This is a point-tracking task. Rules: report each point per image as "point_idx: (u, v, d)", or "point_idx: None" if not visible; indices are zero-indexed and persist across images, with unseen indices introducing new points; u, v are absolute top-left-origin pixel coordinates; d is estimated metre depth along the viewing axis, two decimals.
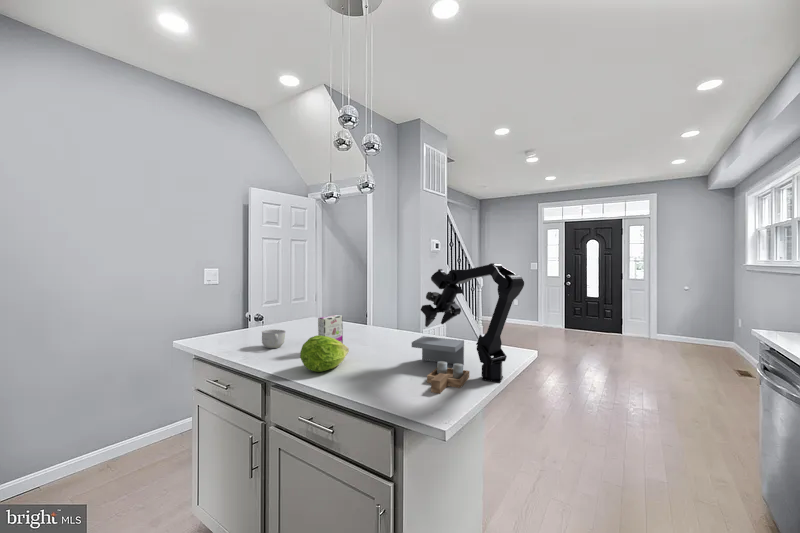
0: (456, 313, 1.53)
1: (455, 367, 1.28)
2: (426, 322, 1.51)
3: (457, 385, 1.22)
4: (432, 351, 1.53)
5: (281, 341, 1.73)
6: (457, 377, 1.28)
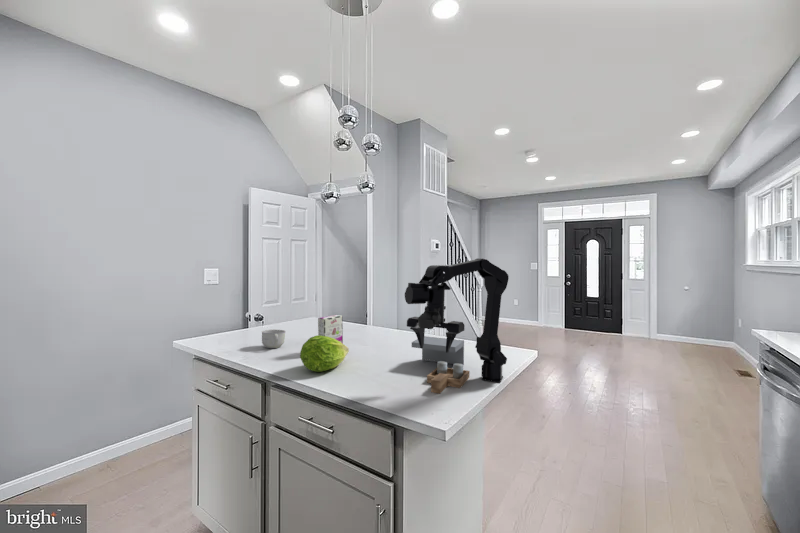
0: None
1: (455, 367, 1.28)
2: (449, 346, 1.17)
3: (457, 385, 1.22)
4: (432, 351, 1.53)
5: (281, 341, 1.73)
6: (457, 377, 1.28)
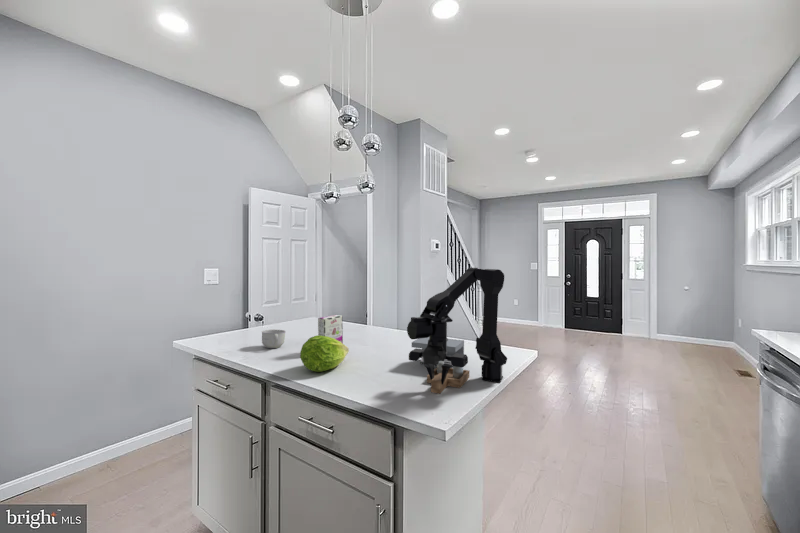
0: None
1: (455, 367, 1.28)
2: (445, 377, 1.17)
3: (456, 385, 1.22)
4: None
5: (281, 341, 1.73)
6: (457, 377, 1.28)
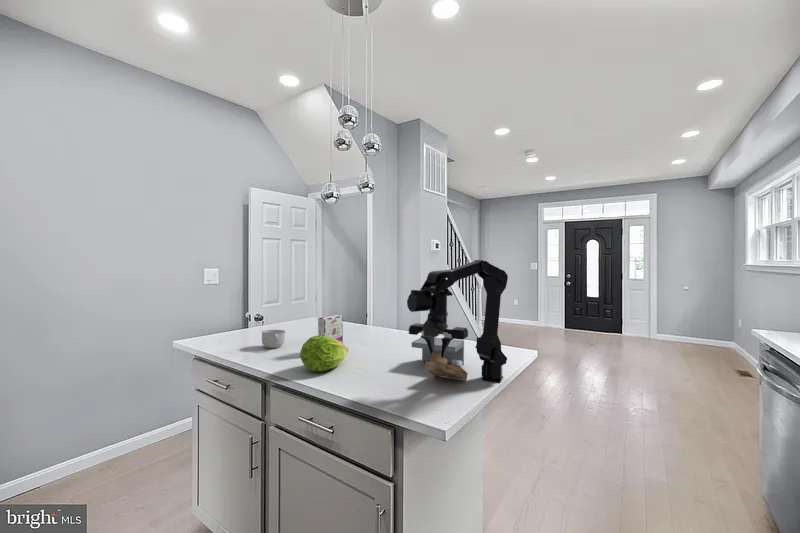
0: None
1: (454, 361, 1.27)
2: (445, 351, 1.17)
3: (455, 370, 1.20)
4: None
5: (281, 341, 1.73)
6: None
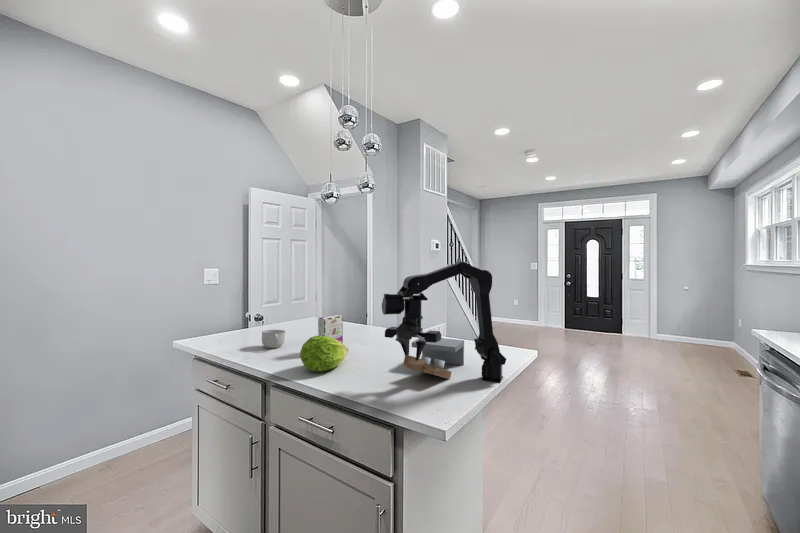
0: None
1: (436, 360, 1.29)
2: (419, 354, 1.21)
3: (431, 371, 1.22)
4: (432, 351, 1.53)
5: (281, 341, 1.73)
6: None
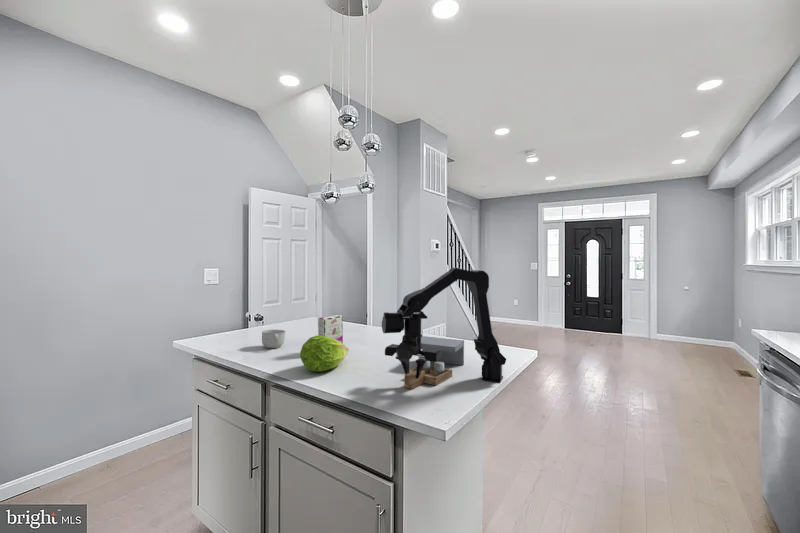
0: None
1: (435, 365, 1.30)
2: (419, 372, 1.21)
3: (432, 382, 1.24)
4: None
5: (281, 341, 1.73)
6: (437, 375, 1.29)
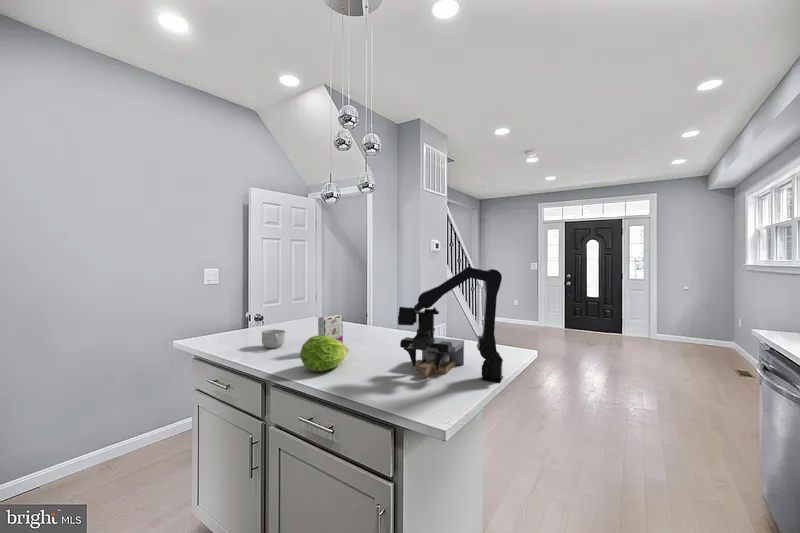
0: None
1: None
2: (439, 363, 1.31)
3: (442, 372, 1.36)
4: (432, 351, 1.53)
5: (281, 341, 1.73)
6: (443, 365, 1.42)
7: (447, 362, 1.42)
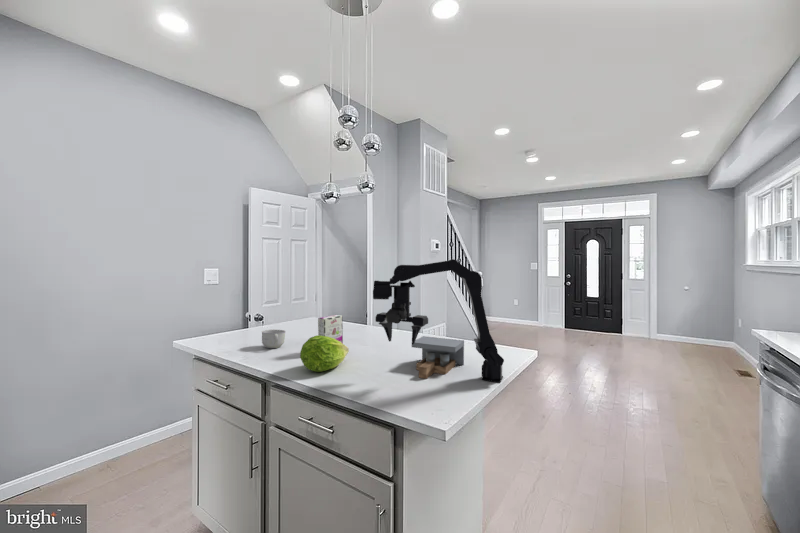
0: None
1: (442, 356, 1.42)
2: (415, 338, 1.28)
3: (442, 372, 1.36)
4: (432, 351, 1.53)
5: (281, 341, 1.73)
6: (443, 365, 1.42)
7: (447, 362, 1.42)
